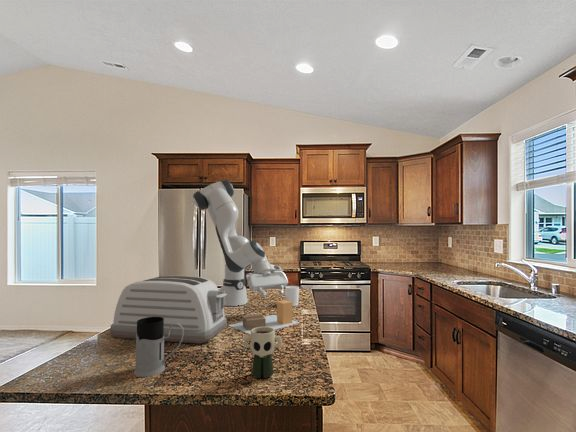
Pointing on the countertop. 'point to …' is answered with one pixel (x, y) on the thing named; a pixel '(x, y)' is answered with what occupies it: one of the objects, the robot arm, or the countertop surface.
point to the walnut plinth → (253, 321)
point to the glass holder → (151, 346)
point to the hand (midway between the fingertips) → (274, 295)
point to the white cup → (292, 294)
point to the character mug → (262, 350)
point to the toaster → (172, 308)
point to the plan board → (270, 322)
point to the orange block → (284, 312)
